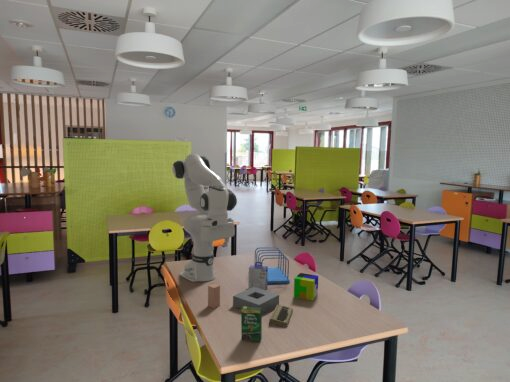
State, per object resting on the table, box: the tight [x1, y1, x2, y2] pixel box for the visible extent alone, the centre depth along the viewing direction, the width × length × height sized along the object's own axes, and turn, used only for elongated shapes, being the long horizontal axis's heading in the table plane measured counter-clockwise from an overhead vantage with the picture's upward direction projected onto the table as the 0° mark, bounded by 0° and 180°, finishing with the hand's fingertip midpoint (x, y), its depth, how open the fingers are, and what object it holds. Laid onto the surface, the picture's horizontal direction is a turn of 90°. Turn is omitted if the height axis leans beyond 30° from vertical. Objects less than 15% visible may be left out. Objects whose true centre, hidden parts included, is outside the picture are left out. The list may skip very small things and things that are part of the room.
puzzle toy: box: [293, 272, 319, 301], centre depth 188 cm, size 10×10×10 cm
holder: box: [232, 287, 280, 315], centre depth 174 cm, size 16×16×5 cm
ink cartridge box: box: [247, 261, 269, 291], centre depth 196 cm, size 10×6×14 cm, turn 78°
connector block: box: [207, 283, 221, 309], centre depth 172 cm, size 4×4×10 cm
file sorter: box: [253, 246, 291, 285], centre depth 215 cm, size 25×17×15 cm
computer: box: [268, 304, 294, 328], centre depth 162 cm, size 16×8×3 cm, turn 165°
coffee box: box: [240, 306, 263, 343], centre depth 141 cm, size 8×3×13 cm, turn 76°
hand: (218, 248), depth 172 cm, fingers open, 8 cm apart
